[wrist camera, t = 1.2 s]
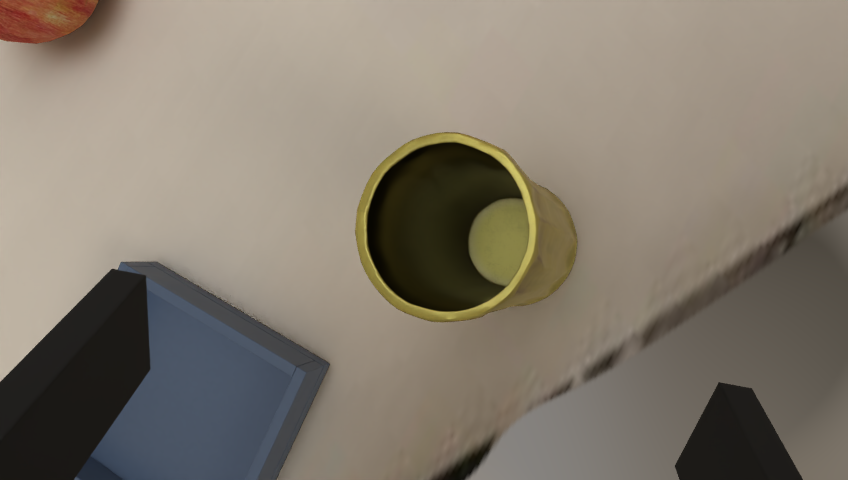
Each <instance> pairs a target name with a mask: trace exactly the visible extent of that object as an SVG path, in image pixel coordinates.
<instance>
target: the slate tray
mask: <svg viewBox="0 0 848 480" xmlns="http://www.w3.org/2000/svg"><path fill="white" fill-rule="evenodd" d="M118 270H121V271H127V272H132V273H137V274H143V275H146V284H147V305H148V326H149V347H150V368H151V369H150V371H149V372H148V374H147V375H146V377H145V378H144V379H143V381H142V382H141V384H140V385H139V387H138V388H137V390H136V391H135V392H134V394H133V395H132V397H131V398H130V400H129V401H128V403H127V404H126V405H125V407H124V408H123V410H122V411H121V413H120V414H119V415H118V417H117V418H116V420H115V421H114V423H113V424H112V426H111V427H110V428H109V430H108V431H107V433H106V434H105V436H104V437H103V439H102V440H101V441H100V443H99V444H98V446H97V447H96V449H95V450H94V451H93V453H92V454H91V456H90V457H89V459H88V460H87V462H86V463H85V464H84V466H83V467H82V469H81V470H80V472H79V473H78V475H77V476H76V477H75V479H74V480H276V478H277V476H278V474H279V472H280V470H281V468H282V466H283V463H284V461H285V459H286V457H287V455H288V453H289V451H290V448H291V446H292V444H293V442H294V440H295V438H296V436H297V433H298V431H299V429H300V427H301V425H302V423H303V421H304V418H305V416H306V414H307V412H308V410H309V408H310V406H311V403H312V401H313V399H314V397H315V395H316V393H317V391H318V388H319V386H320V384H321V382H322V380H323V378H324V376H325V374H326V371H327V369H328V367H329V365H330V364H329V363H328V362H326V361H324V360H323V359H321V358H319V357H317V356H316V355H314V354H312V353H311V352H309V351H307V350H306V349H304V348H302V347H300V346H299V345H297V344H295V343H294V342H292V341H290V340H289V339H287V338H285V337H283V336H282V335H280V334H278V333H277V332H275V331H273V330H271V329H270V328H268V327H266V326H265V325H263V324H261V323H260V322H258V321H256V320H254V319H253V318H251V317H249V316H248V315H246V314H244V313H242V312H241V311H239V310H237V309H236V308H234V307H232V306H231V305H229V304H227V303H225V302H224V301H222V300H220V299H219V298H217V297H215V296H213V295H212V294H210V293H208V292H207V291H205V290H203V289H202V288H200V287H198V286H196V285H195V284H193V283H191V282H190V281H188V280H186V279H185V278H183V277H181V276H179V275H178V274H176V273H174V272H173V271H171V270H169V269H167V268H166V267H164V266H162V265H161V264H159V263H157V262H121V263H120V265H119V268H118Z"/></svg>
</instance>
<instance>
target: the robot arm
mask: <svg viewBox="0 0 848 480" xmlns="http://www.w3.org/2000/svg"><path fill="white" fill-rule="evenodd" d="M150 369H151V368H150V347H149V326H148V305H147V284H146V275H143V274H137V273H132V272H127V271H121V270H116V269H111V270H110V271H109V272H108V273H107V274H106V275H105V276H104V277H103V278H102V279H101V281H100V282H99V283H98V284H97V285H96V286H95V287H94V288H93V289H92V290H91V291H90V292H89V293H88V294H87V295H86V296H85V297H84V298H83V299H82V300H81V301H80V302H79V303H78V304H77V305H76V306H75V307H74V308H73V309H72V310H71V311H70V312H69V313H68V314H67V315H66V316H65V317H64V318H63V319H62V320H61V321H60V322H59V323H58V324H57V325H56V326H55V327H54V328H53V329H52V330H51V331H50V332H49V333H48V334H47V335H46V336H45V337H44V338H43V339H42V340H41V341H40V342H39V343H38V344H37V345H36V346H35V347H34V348H33V349H32V350H31V351H30V352H29V353H28V354H27V355H26V357H25V358H24V359H23V360H22V361H21V362H20V363H19V364H18V365H17V366H16V367H15V368H14V369H13V370H12V371H11V372H10V373H9V374H8V375H7V376H6V377H5V378H4V379H3V380H2V381H1V382H0V480H74V479H75V477H76V476H77V475H78V473H79V472H80V470H81V469H82V467H83V466H84V464H85V463H86V462H87V460H88V459H89V457H90V456H91V454H92V453H93V451H94V450H95V449H96V447H97V446H98V444H99V443H100V441H101V440H102V439H103V437H104V436H105V434H106V433H107V431H108V430H109V428H110V427H111V426H112V424H113V423H114V421H115V420H116V418H117V417H118V415H119V414H120V413H121V411H122V410H123V408H124V407H125V405H126V404H127V403H128V401H129V400H130V398H131V397H132V395H133V394H134V392H135V391H136V390H137V388H138V387H139V385H140V384H141V382H142V381H143V379H144V378H145V377H146V375H147V374H148V372H149V371H150ZM675 468H676V470H677V474H678V477H679V479H680V480H803V479H802V477H801V475H800V474H799V472H798V470H797V469H796V467H795V465H794V463H793V461H792V459H791V458H790V456H789V454H788V452H787V451H786V449H785V447H784V445H783V443H782V442H781V440H780V438H779V436H778V434H777V433H776V431H775V429H774V427H773V425H772V424H771V422H770V420H769V419H768V417H767V415H766V413H765V412H764V409H763V408H762V406H761V404H760V402H759V401H758V399H757V397H756V395H755V393H754V392H753V390H752V388H746V387H741V386H736V385H730V384H725V383H720V382H719V383H718V385H717V387H716V389H715V391H714V393H713V395H712V396H711V398H710V400H709V402H708V404H707V406H706V408H705V410H704V412H703V414H702V415H701V417H700V419H699V421H698V423H697V425H696V427H695V429H694V431H693V433H692V434H691V436H690V438H689V440H688V442H687V444H686V446H685V448H684V450H683V452H682V453H681V455H680V457H679V459H678V461H677V463H676V465H675Z"/></svg>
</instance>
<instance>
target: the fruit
mask: <svg viewBox="0 0 848 480" xmlns="http://www.w3.org/2000/svg"><path fill="white" fill-rule="evenodd" d="M98 1H99V0H0V39H1V40H4V41H11V42H23V43H36V44H37V43H42V42H48V41H52V40H55V39H57V38H60V37H62V36H65V35H68V34H70V33H71V32H73V31H75V30H76V29H78V28H79V27H81V26H82V25H83V24H84V23H85V22H86V20H87V19H88V18H89V17H90V16H91V14H92V13H93V11H94V9H95V7H96V5H97V3H98Z"/></svg>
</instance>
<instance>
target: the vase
mask: <svg viewBox="0 0 848 480" xmlns="http://www.w3.org/2000/svg"><path fill="white" fill-rule="evenodd" d="M355 234H356V240H357V247H358V251H359V255H360V259H361V263H362V265H363V268H364V270H365V272H366V274H367V276H368V277H369V279H370V281H371V282H372V284H373V285H374V286H375V288H376V289H377V290H378V291H379V293H380V294H381V295H382V296H383V297H384V298H385V299H386V300H387V301H388V302H389V303H390V304H392V305H393V306H394V307H395V308H397V309H399V310H401V311H403V312H404V313H407V314H410V315H412V316H415V317H418V318H421V319H424V320H427V321H431V322H454V321H464V320H471V319H476V318H480V317H483V316H484V315H485V314H487V313H490V312H494V311H498V310H501V309H505V308H507V307H511V306H524V305H529V304H532V303H535V302H538V301H540V300H542V299H544V298H546V297H548V296H549V295H550V294H552V293H553V292H554V291H555V290H557V289H558V288H559V286H560V285H561V284H562V283H563V282H564V281H565V279H566V278H567V276H568V275H569V273H570V271H571V269H572V266H573V264H574V260H575V256H576V249H577V235H576V231H575V227H574V224H573V221H572V218H571V216H570V214H569V212H568V210H567V208H566V207H565V205H564V204H563V203H562V202H561V201H560V200H559V199H558V198H557V197H556V196H555V195H554V194H553V193H551V192H550V191H549V190H548V189H546V188H543V187H541V186H539V185H537V184H536V183H534V182H533V181H531V180H530V179H529V178H528V177H527V175H526V174H525V173H524V172H523V171H522V170H521V168H520V167H519V166H518V165H517V163H516V162H515V160H514V159H513V158H512V157H511V156H510V155H509V154H508V153H507V152H506V151H505V150H503V149H501V148H499V147H497V146H495V145H492V144H490V143H488V142H485V141H482V140H480V139H477V138H474V137H472V136H469V135H465V134H461V133H454V132H444V133H435V134H430V135H426V136H422V137H419V138H417V139H414V140H412V141H410V142H408V143H406V144H404V145H403V146H401V147H400V148H399V149H397V150H396V151H395V152H393V153H392V154H391V155H390V156H389V157H387V158H386V159H385V160H384V161H383V162H382V163H381V164H380V165H379V166H378V167H377V168H376V170H375V171H374V172H373V174H372V175H371V177H370V179H369V181H368V183H367V185H366V187H365V189H364V192H363V194H362V197H361V200H360V203H359V206H358V209H357V217H356V229H355Z"/></svg>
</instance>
